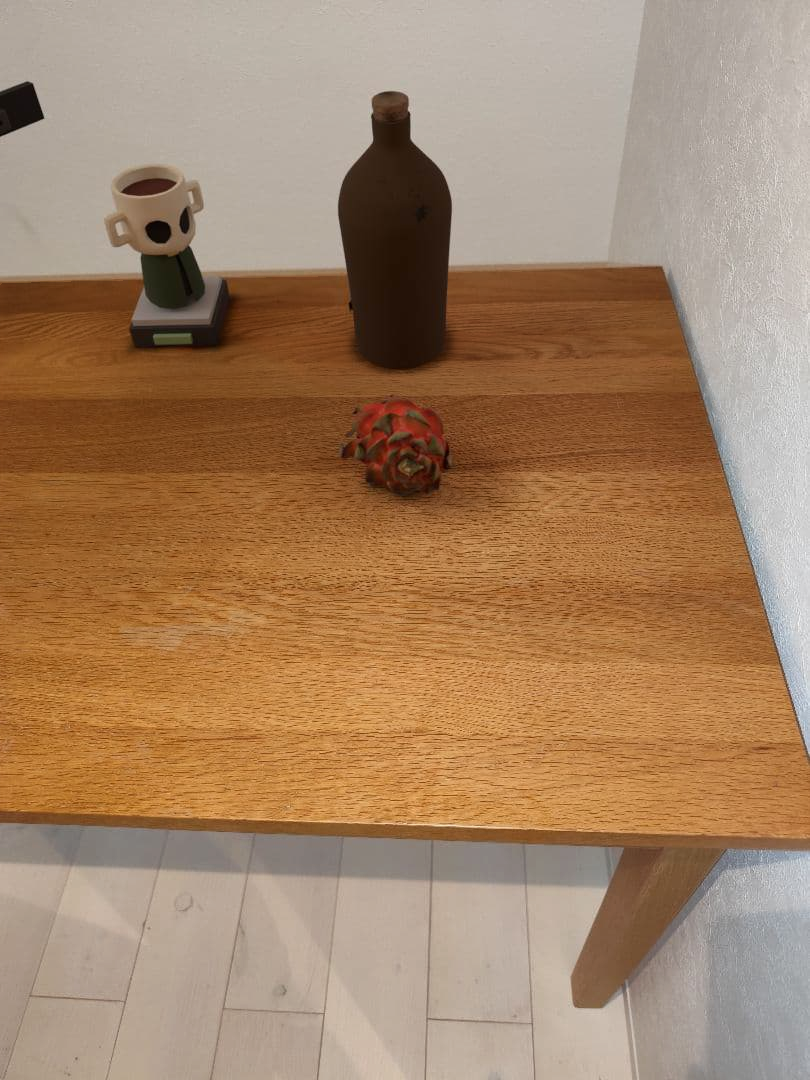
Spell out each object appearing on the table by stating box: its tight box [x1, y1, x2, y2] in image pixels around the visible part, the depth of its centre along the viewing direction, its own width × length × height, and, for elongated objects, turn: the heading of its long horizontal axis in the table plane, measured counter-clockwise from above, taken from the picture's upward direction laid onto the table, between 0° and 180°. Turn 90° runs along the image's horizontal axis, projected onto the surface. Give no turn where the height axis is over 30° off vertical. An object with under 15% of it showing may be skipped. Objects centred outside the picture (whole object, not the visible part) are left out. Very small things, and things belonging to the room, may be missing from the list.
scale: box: [128, 274, 231, 348], centre depth 97 cm, size 9×10×3 cm
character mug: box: [103, 163, 205, 309], centre depth 91 cm, size 11×7×13 cm, turn 133°
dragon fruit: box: [338, 393, 455, 498], centre depth 79 cm, size 8×8×12 cm
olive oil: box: [337, 90, 453, 370], centre depth 85 cm, size 11×11×25 cm
